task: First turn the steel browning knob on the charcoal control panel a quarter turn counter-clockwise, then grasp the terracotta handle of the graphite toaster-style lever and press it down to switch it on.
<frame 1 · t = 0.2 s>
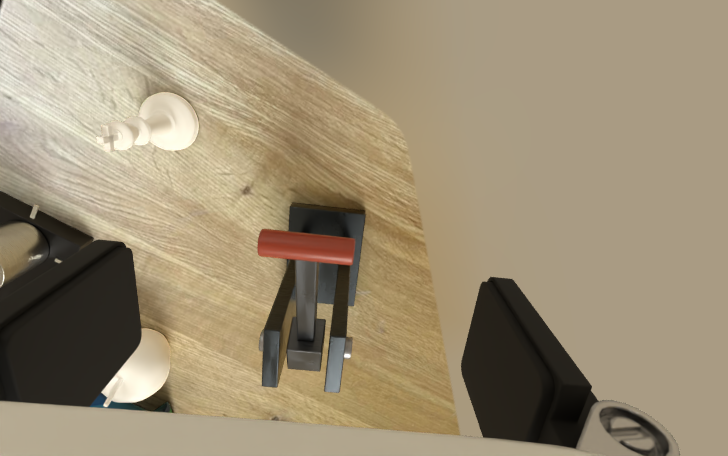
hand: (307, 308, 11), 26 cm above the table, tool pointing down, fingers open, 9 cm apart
lever: (306, 306, 23), point 16 cm above the table, hinge at 25.0°
dial panel: (24, 277, 40), on the table
lever bracket: (324, 253, 39), on the table
plain white apple: (151, 342, 43), on the table
chess piece: (171, 121, 35), on the table
sculpture: (134, 421, 47), on the table
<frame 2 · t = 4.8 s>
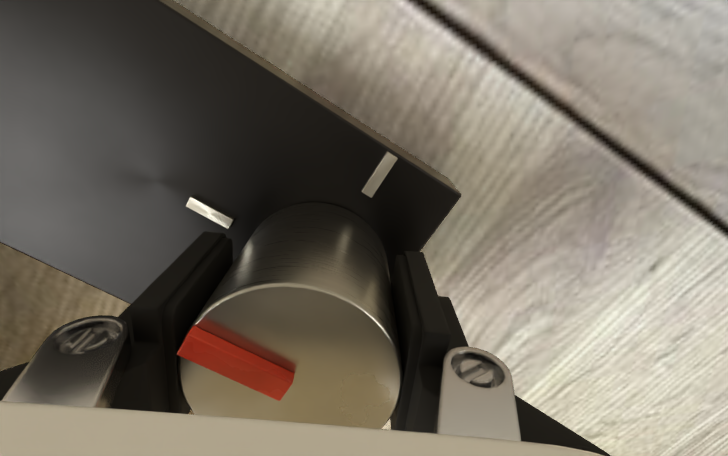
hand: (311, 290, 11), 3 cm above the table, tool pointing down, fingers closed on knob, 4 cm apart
dial panel: (183, 166, 14), on the table
knob: (305, 316, 10), point 5 cm above the table, hinge at 0.2°, touching gripper
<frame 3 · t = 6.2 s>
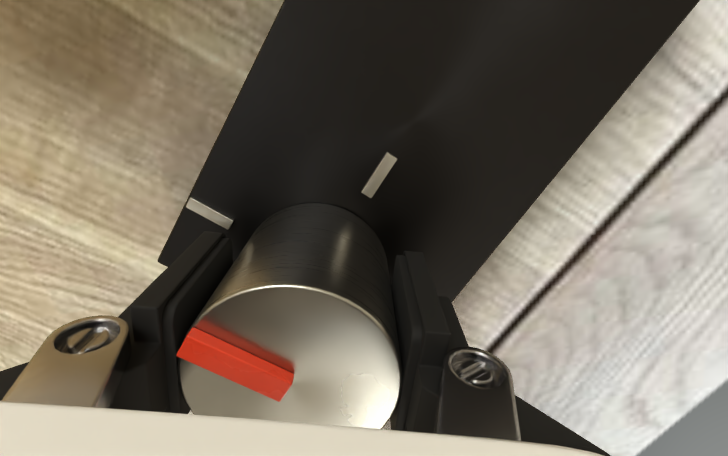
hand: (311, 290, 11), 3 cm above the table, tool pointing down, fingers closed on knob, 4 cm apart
dial panel: (405, 114, 13), on the table
knob: (305, 317, 10), point 5 cm above the table, hinge at 90.5°, touching gripper
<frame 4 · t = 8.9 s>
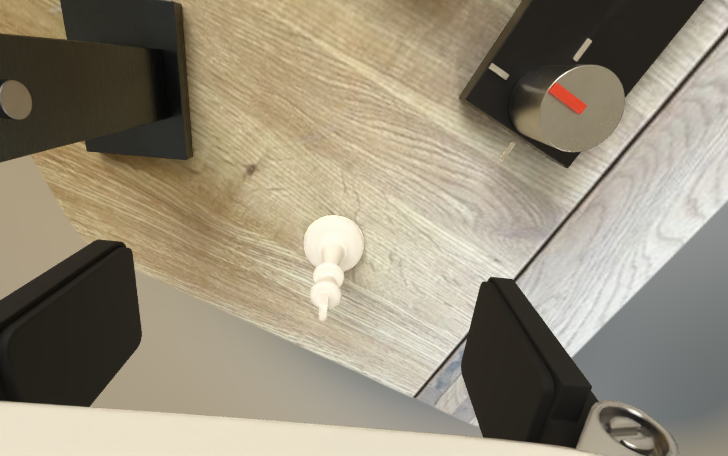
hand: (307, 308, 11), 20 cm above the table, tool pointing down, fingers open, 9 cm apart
dial panel: (584, 26, 26), on the table
lever bracket: (136, 80, 27), on the table
chess piece: (334, 242, 32), on the table
knob: (561, 106, 24), point 5 cm above the table, hinge at 89.0°
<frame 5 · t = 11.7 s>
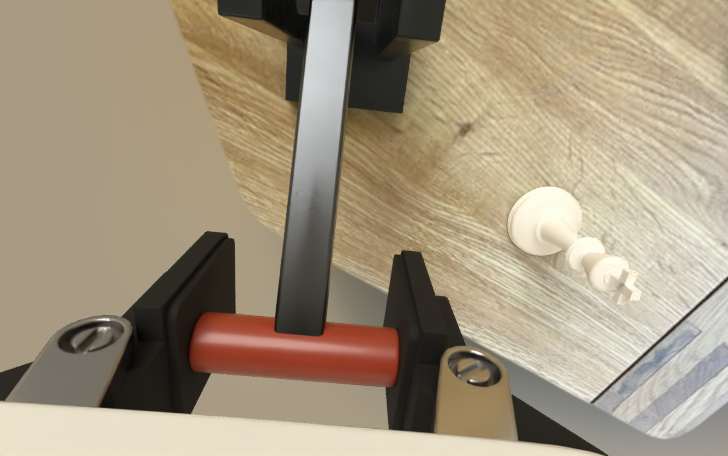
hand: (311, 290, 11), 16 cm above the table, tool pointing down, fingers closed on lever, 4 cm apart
lever: (322, 120, 9), point 16 cm above the table, hinge at 25.0°, touching gripper
lever bracket: (352, 15, 23), on the table
chess piece: (541, 219, 28), on the table
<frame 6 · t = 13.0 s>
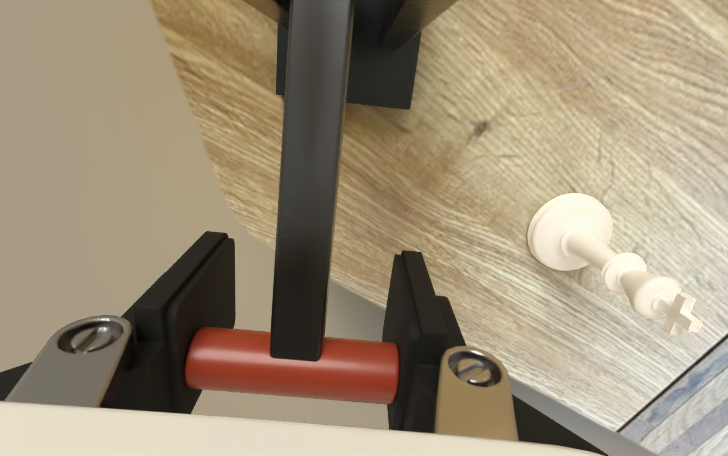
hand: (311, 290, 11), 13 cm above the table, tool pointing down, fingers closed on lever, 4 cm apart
lever: (315, 119, 8), point 15 cm above the table, hinge at 8.0°, touching gripper
chess piece: (565, 230, 25), on the table
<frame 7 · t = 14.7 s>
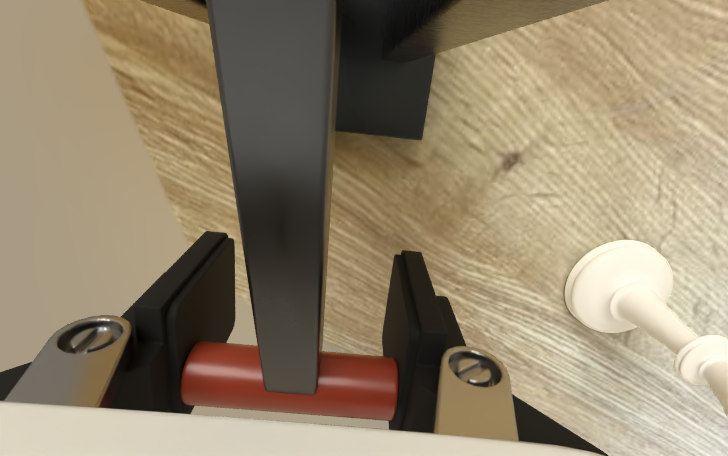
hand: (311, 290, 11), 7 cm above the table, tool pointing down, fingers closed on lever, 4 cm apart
lever: (287, 187, 5), point 12 cm above the table, hinge at -21.7°, touching gripper
chess piece: (611, 282, 20), on the table
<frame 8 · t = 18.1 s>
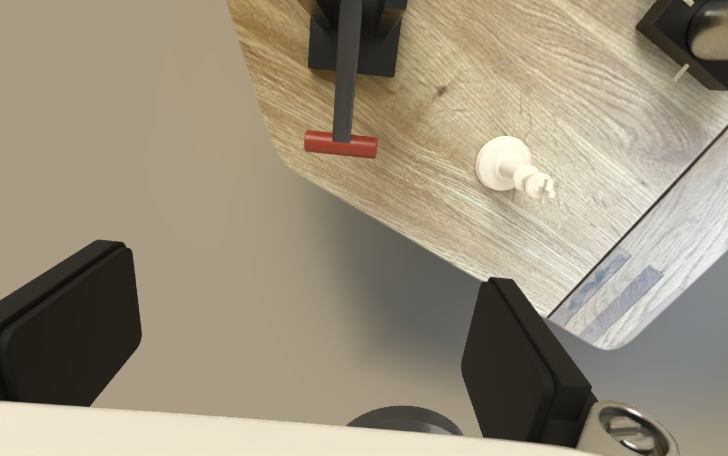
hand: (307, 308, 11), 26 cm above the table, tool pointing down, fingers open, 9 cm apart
lever: (347, 58, 21), point 12 cm above the table, hinge at -21.8°
lever bracket: (357, 5, 31), on the table
chess piece: (501, 162, 36), on the table
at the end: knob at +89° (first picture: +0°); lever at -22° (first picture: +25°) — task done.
